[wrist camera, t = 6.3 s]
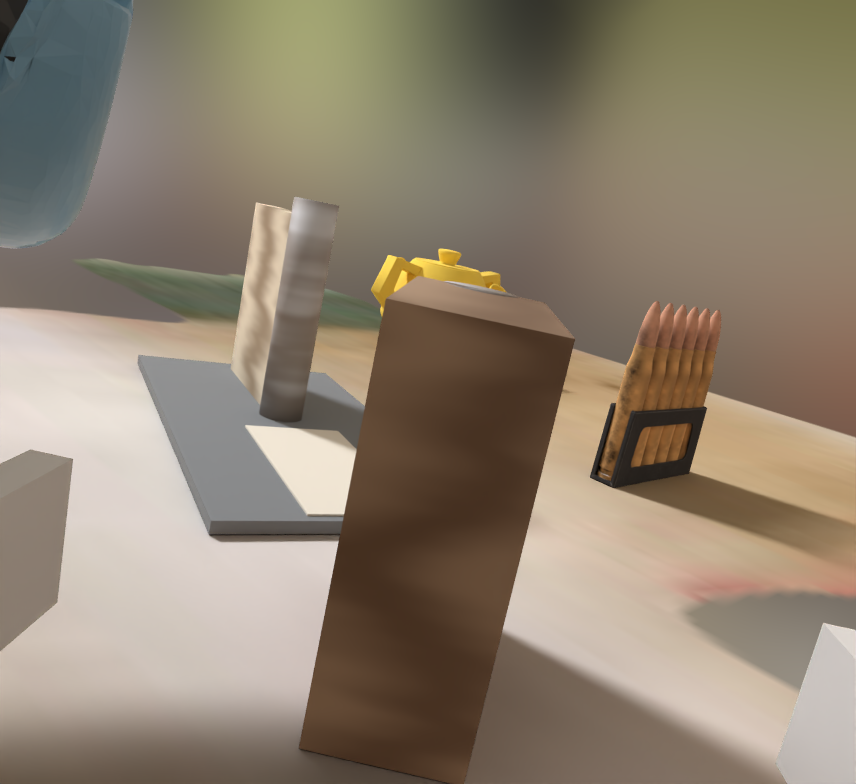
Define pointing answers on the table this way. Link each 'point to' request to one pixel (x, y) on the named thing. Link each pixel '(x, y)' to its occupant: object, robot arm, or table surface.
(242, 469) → the mat
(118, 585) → the table surface
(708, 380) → the ammunition clip
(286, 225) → the birch hinge leaf
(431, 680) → the brown rectangular block
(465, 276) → the teapot
